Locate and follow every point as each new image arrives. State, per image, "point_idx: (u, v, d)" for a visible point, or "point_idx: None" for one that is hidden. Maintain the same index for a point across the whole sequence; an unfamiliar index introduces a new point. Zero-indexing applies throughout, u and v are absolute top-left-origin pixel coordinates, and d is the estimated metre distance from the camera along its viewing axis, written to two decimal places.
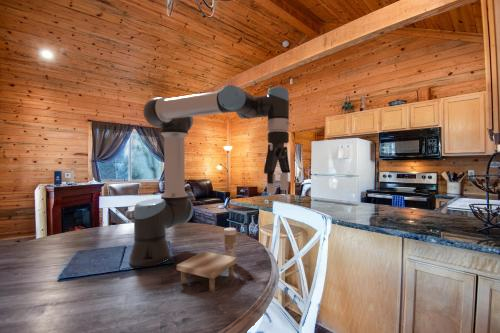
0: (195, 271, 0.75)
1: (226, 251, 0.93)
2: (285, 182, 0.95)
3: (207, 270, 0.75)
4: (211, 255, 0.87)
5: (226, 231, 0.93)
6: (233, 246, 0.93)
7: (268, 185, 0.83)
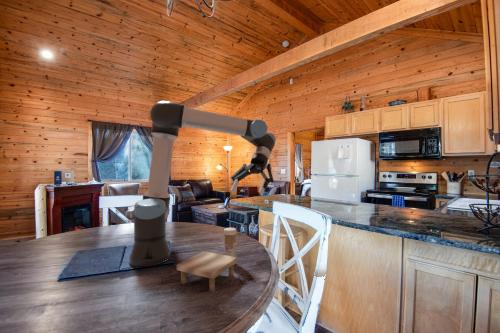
0: (195, 271, 0.75)
1: (226, 251, 0.93)
2: (235, 188, 1.10)
3: (207, 270, 0.75)
4: (211, 255, 0.87)
5: (226, 231, 0.93)
6: (233, 246, 0.93)
7: (262, 187, 1.03)
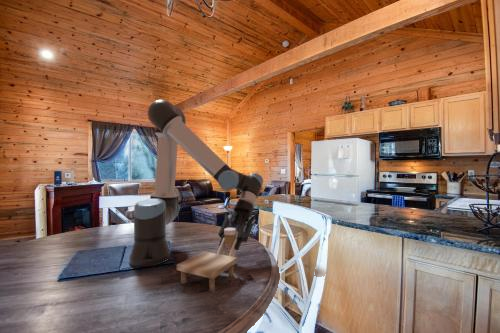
0: (195, 271, 0.75)
1: (226, 251, 0.93)
2: (223, 249, 0.94)
3: (207, 270, 0.75)
4: (211, 255, 0.87)
5: (226, 231, 0.93)
6: None
7: (233, 249, 0.91)
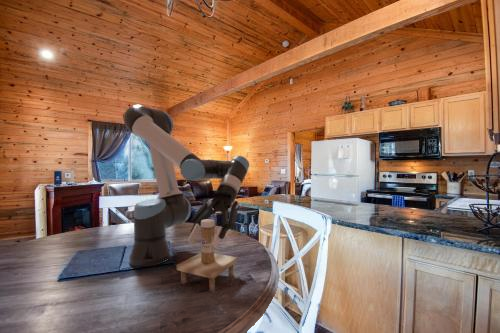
0: (195, 271, 0.75)
1: (203, 246, 0.80)
2: (195, 236, 0.83)
3: (207, 270, 0.75)
4: None
5: (203, 223, 0.80)
6: (211, 240, 0.80)
7: (217, 238, 0.78)
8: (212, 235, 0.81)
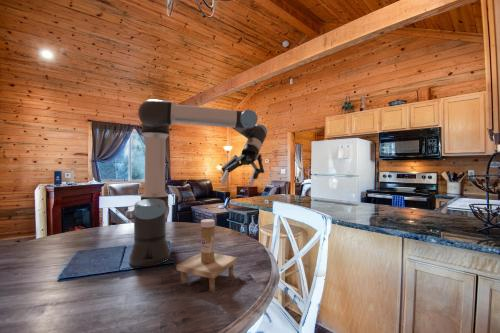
0: (195, 271, 0.75)
1: (203, 246, 0.80)
2: (225, 179, 1.09)
3: (207, 270, 0.75)
4: None
5: (203, 223, 0.80)
6: (211, 240, 0.80)
7: (252, 178, 1.02)
8: (212, 235, 0.81)
